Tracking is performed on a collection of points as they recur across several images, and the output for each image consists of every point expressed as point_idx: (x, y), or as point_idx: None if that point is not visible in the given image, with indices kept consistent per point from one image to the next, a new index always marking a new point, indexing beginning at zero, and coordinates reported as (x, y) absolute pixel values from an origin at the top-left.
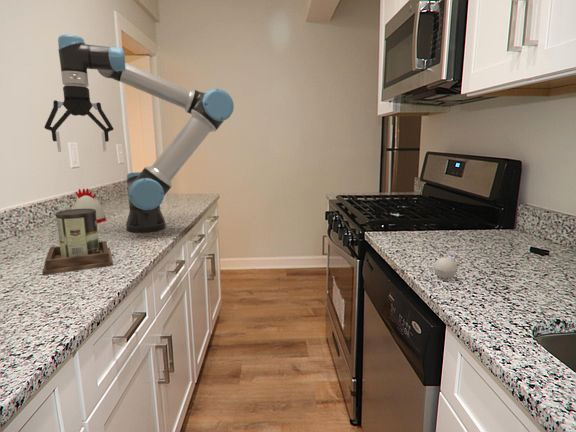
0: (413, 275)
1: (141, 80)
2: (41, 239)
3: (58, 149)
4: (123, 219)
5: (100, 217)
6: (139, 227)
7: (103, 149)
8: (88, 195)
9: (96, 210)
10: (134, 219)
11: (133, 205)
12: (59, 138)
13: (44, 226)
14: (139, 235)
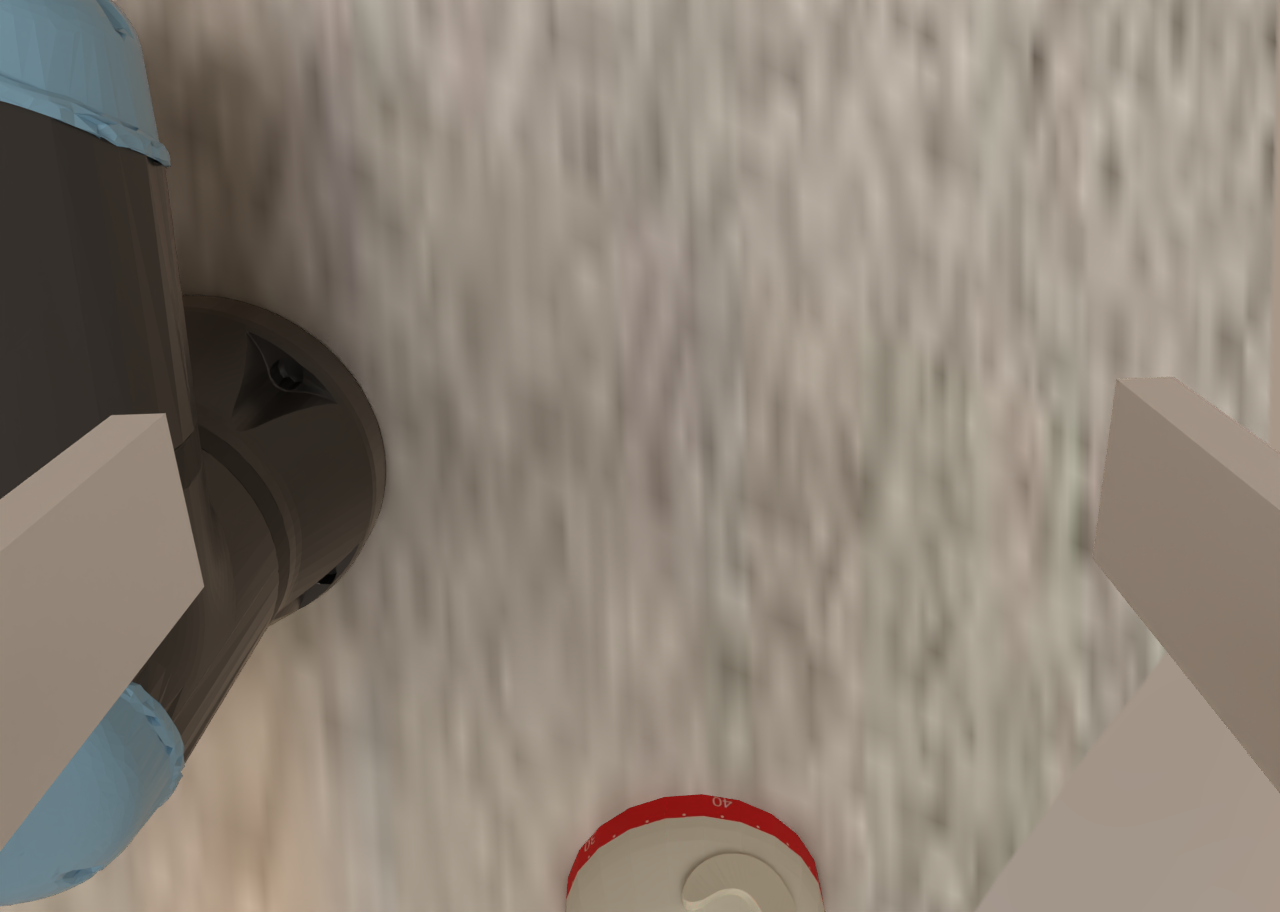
0: None
1: None
2: (1022, 411)
3: (1182, 398)
4: (431, 865)
5: (599, 857)
6: (251, 323)
7: (168, 531)
8: None
9: (623, 907)
10: (272, 410)
11: (221, 472)
12: (1256, 699)
13: (1001, 846)
14: (265, 206)
